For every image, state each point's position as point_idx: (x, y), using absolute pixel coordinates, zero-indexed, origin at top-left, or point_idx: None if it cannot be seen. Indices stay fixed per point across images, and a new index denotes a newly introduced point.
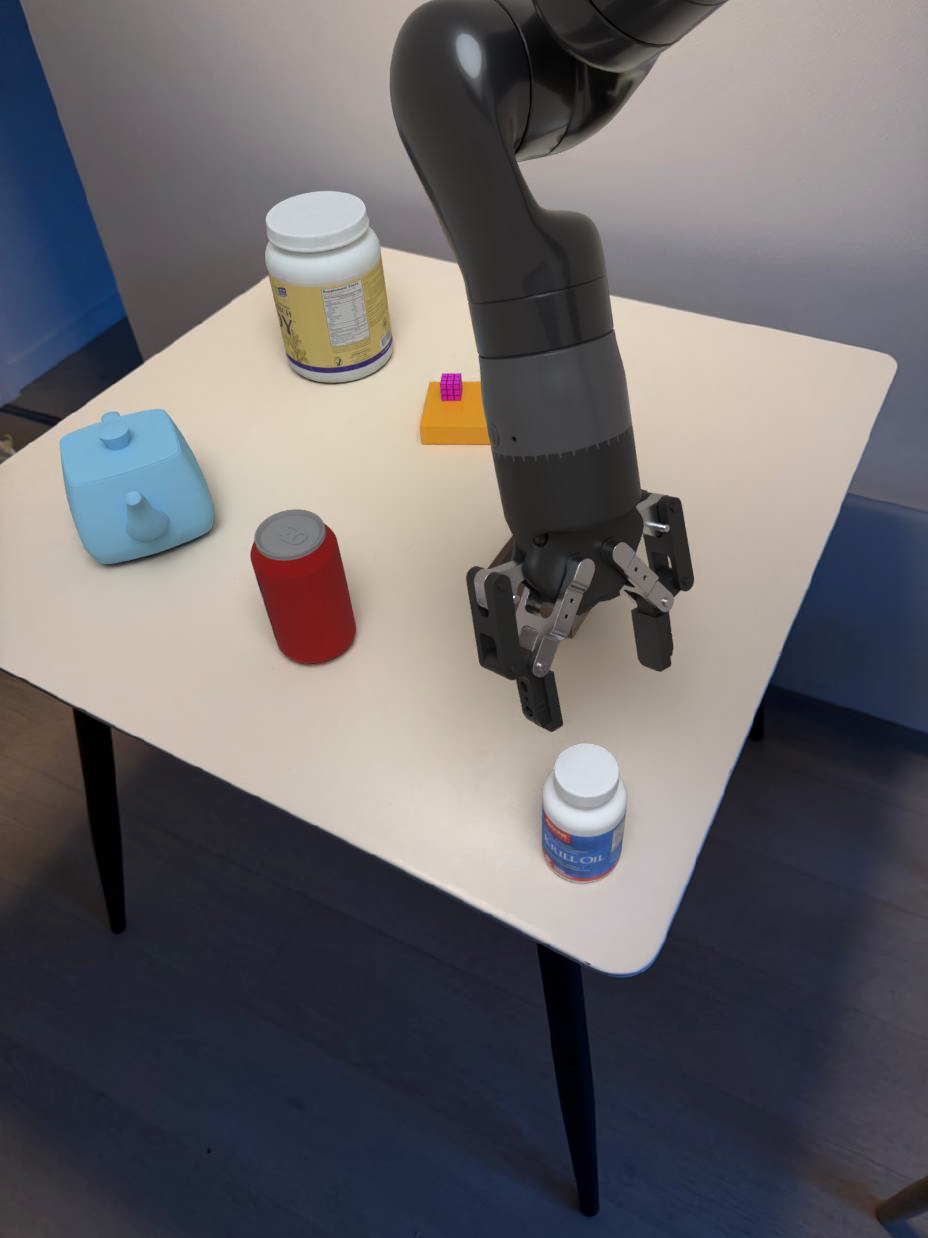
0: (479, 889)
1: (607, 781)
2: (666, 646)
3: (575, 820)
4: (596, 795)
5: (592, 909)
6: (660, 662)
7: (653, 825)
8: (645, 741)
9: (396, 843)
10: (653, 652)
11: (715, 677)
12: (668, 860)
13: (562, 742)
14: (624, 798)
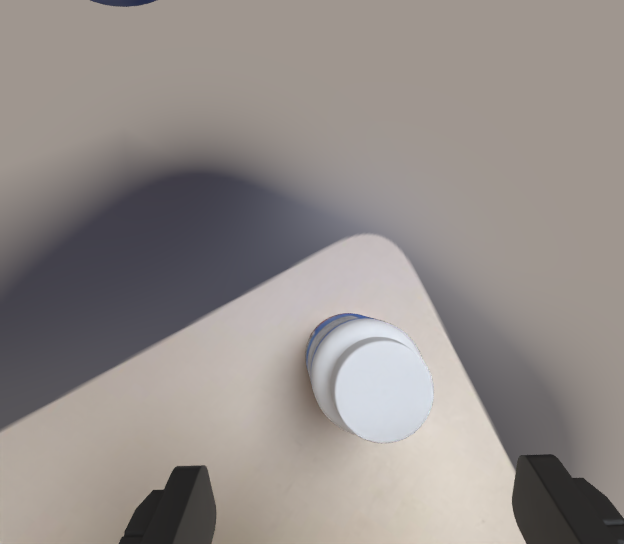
0: (456, 376)
1: (371, 355)
2: (160, 518)
3: (411, 347)
4: (400, 345)
5: (377, 294)
6: (197, 486)
7: (265, 334)
8: (197, 428)
9: (500, 472)
10: (193, 522)
11: (57, 458)
12: (279, 292)
13: (278, 483)
14: (334, 338)
